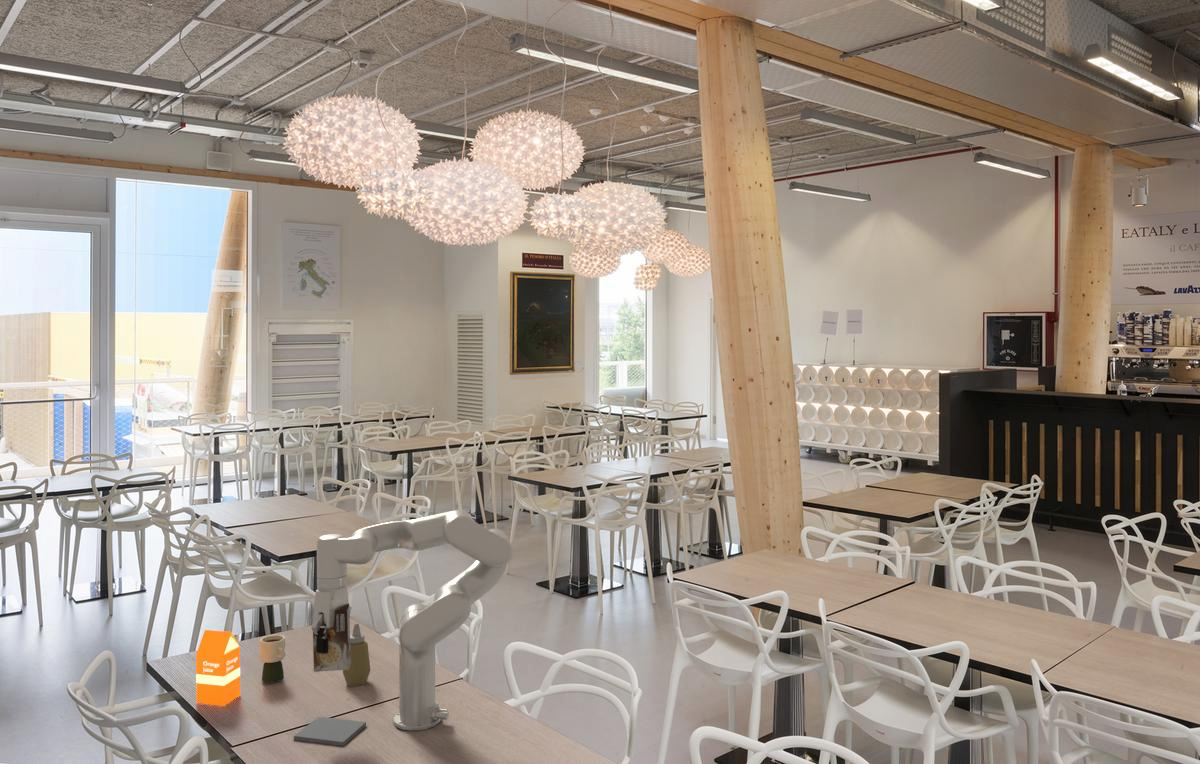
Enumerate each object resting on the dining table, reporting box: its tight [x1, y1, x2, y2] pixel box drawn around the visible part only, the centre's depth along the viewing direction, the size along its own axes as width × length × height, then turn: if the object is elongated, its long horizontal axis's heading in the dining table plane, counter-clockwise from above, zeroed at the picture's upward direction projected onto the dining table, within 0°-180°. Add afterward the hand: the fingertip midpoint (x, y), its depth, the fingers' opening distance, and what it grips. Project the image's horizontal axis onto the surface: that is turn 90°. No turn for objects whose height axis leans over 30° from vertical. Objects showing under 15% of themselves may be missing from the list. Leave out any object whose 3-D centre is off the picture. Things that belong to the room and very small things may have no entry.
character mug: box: [259, 634, 286, 684], centre depth 263 cm, size 11×7×13 cm, turn 52°
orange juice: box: [195, 629, 241, 707], centre depth 248 cm, size 8×9×20 cm
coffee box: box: [312, 602, 351, 673], centre depth 230 cm, size 9×6×16 cm
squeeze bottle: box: [342, 622, 371, 687], centre depth 262 cm, size 8×8×18 cm
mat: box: [293, 716, 367, 747], centre depth 229 cm, size 14×12×1 cm
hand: (332, 646), depth 230 cm, fingers closed on coffee box, 8 cm apart
